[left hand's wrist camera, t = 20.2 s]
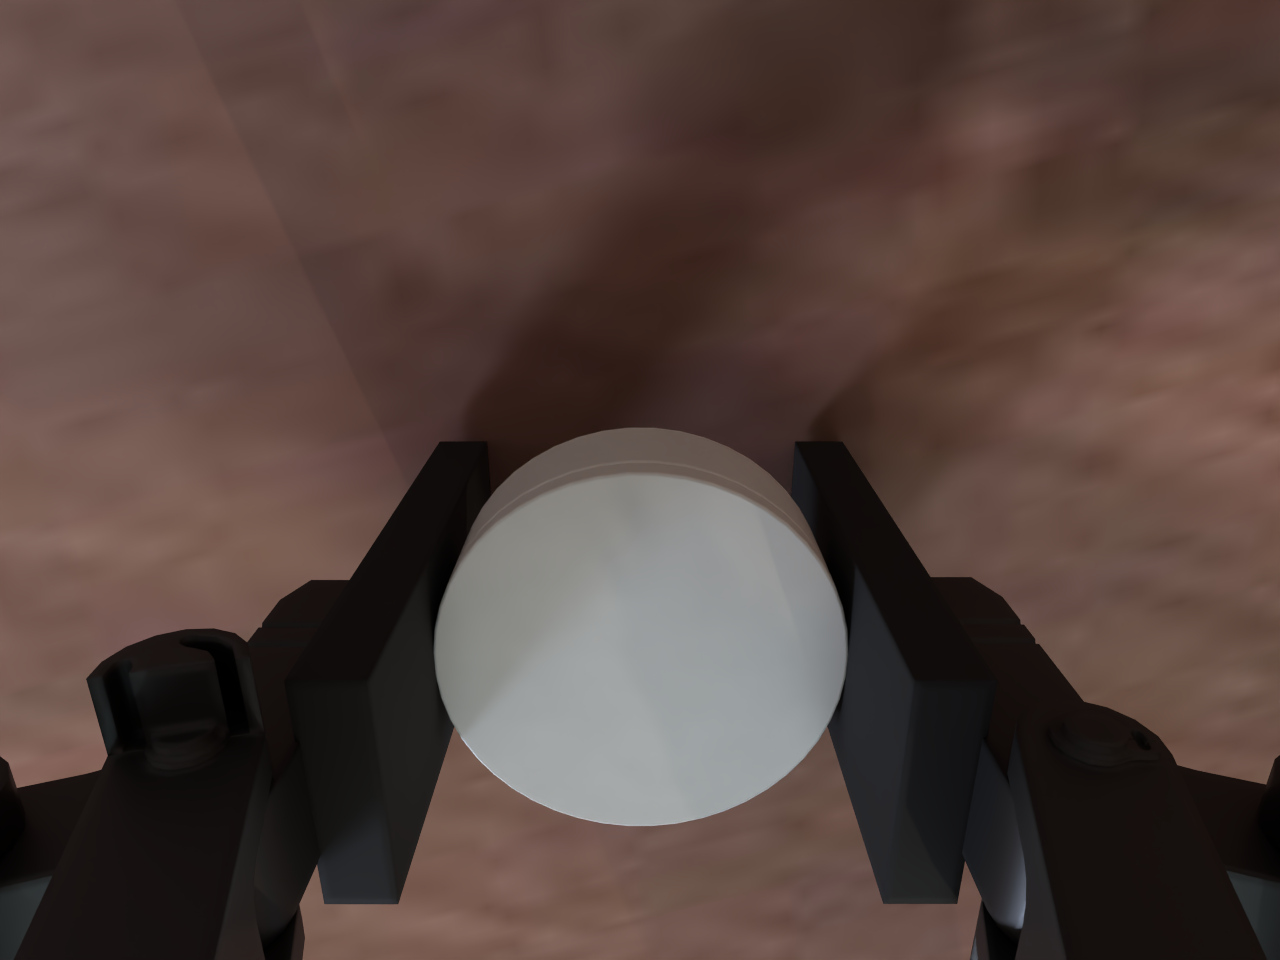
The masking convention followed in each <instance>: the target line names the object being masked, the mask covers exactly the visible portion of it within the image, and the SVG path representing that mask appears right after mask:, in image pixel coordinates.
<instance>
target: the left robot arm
mask: <svg viewBox="0 0 1280 960" xmlns="http://www.w3.org/2000/svg"><path fill="white" fill-rule="evenodd" d="M490 497H491V494H490V480H489V466H488V451H487V442H439V444H438V445H437V447H436V448H435V450H434V452H433V453H432V455H431V456H430V458H429V459H428V461H427V462H426V464H425V465H424V467H423V468H422V470H421V471H420V473H419V475H418V476H417V478H416V479H415V481H414V482H413V484H412V485H411V487H410V488H409V490H408V491H407V493H406V494H405V496H404V498H403V499H402V501H401V502H400V504H399V505H398V507H397V508H396V510H395V511H394V513H393V514H392V516H391V517H390V519H389V521H388V522H387V524H386V525H385V527H384V528H383V530H382V531H381V533H380V534H379V536H378V537H377V539H376V540H375V542H374V544H373V545H372V547H371V548H370V550H369V551H368V553H367V554H366V556H365V557H364V559H363V560H362V562H361V563H360V565H359V567H358V568H357V570H356V571H355V573H354V574H353V576H352V577H351V579H350V580H311V581H309V582H307V583H306V584H304V585H303V586H301V587H300V588H298V589H296V590H295V591H293V592H292V593H290V594H289V595H287V596H285V597H284V598H282V599H281V600H280V601H279V602H278V603H277V605H276V606H275V607H274V608H273V610H272V611H271V612H270V614H269V615H268V616H267V617H266V619H265V620H264V621H263V623H262V628H258V629H257V630H256V632H255V633H254V634H253V636H252V637H251V638H250V639H249V641H248V642H246V641H244V640H243V639H242V638H241V637H239V636H238V635H237V634H235V633H232V632H227V631H223V630H218V629H185V630H180V631H176V632H171V633H166V634H161V635H156V636H153V637H151V638H148V639H145V640H143V641H140V642H138V643H135V644H132V645H130V646H127V647H125V648H123V649H122V650H120V651H119V652H117V653H115V654H114V655H112V656H110V657H109V658H107V659H106V660H104V661H102V662H101V663H100V664H99V665H98V666H97V668H96V669H95V670H94V671H93V672H92V673H91V674H90V675H89V676H88V677H87V679H86V680H87V683H88V687H89V690H90V694H91V697H92V701H93V704H94V708H95V712H96V715H97V719H98V722H99V726H100V729H101V733H102V736H103V740H104V743H105V747H106V750H107V754H108V757H107V759H106V761H105V763H104V765H103V768H102V770H99V771H95V772H92V773H88V774H84V775H79V776H74V777H69V778H64V779H59V780H54V781H50V782H45V783H40V784H35V785H30V786H25V787H20V788H17V787H16V784H15V781H14V778H13V775H12V772H11V769H10V766H9V764H8V762H7V761H5V760H4V759H3V758H2V757H0V960H302V958H303V949H304V941H305V935H304V928H303V922H302V916H301V911H300V906H299V903H300V901H301V899H302V896H303V894H304V892H305V890H306V887H307V885H308V883H309V881H310V878H311V876H312V874H313V872H314V869H315V867H316V865H317V866H318V871H319V877H320V882H321V888H322V893H323V898H324V904H398V903H399V900H400V896H401V893H402V890H403V887H404V884H405V881H406V878H407V874H408V871H409V868H410V865H411V862H412V859H413V855H414V852H415V849H416V846H417V843H418V840H419V836H420V833H421V830H422V827H423V824H424V821H425V817H426V814H427V811H428V808H429V805H430V802H431V798H432V795H433V792H434V789H435V786H436V783H437V779H438V776H439V773H440V770H441V767H442V764H443V760H444V757H445V754H446V751H447V748H448V745H449V741H450V738H451V735H452V732H453V729H454V725H453V723H452V721H451V720H450V717H449V715H448V713H447V710H446V708H445V705H444V703H443V701H442V698H441V695H440V691H439V687H438V683H437V679H436V673H435V663H434V653H433V646H434V628H435V624H436V619H437V614H438V610H439V605H440V602H441V600H442V597H443V595H444V592H445V589H446V587H447V584H448V582H449V579H450V577H451V574H452V572H453V570H454V567H455V565H456V563H457V560H458V558H459V555H460V553H461V551H462V548H463V546H464V543H465V541H466V539H467V536H468V534H469V532H470V529H471V527H472V525H473V523H474V521H475V520H476V518H477V516H478V514H479V513H480V511H481V509H482V507H483V506H484V505H485V503H486V502H487V501H488V499H489V498H490ZM791 498H792V499H793V500H794V502H795V503H796V504H797V506H798V507H799V508H800V510H801V512H802V514H803V516H804V517H805V519H806V521H807V523H808V525H809V527H810V529H811V531H812V533H813V535H814V538H815V540H816V542H817V545H818V547H819V549H820V551H821V554H822V556H823V558H824V561H825V563H826V565H827V568H828V570H829V572H830V574H831V577H832V579H833V581H834V584H835V586H836V589H837V592H838V595H839V597H840V600H841V603H842V605H843V610H844V615H845V620H846V625H847V630H848V660H847V669H846V677H845V681H844V685H843V689H842V693H841V696H840V700H839V702H838V704H837V707H836V709H835V711H834V714H833V716H832V718H831V720H830V722H829V724H828V725H827V726H828V729H829V732H830V736H831V739H832V742H833V745H834V748H835V751H836V755H837V758H838V761H839V764H840V767H841V770H842V774H843V777H844V780H845V783H846V786H847V790H848V793H849V796H850V799H851V802H852V805H853V809H854V812H855V815H856V818H857V821H858V824H859V828H860V831H861V834H862V837H863V840H864V844H865V847H866V850H867V853H868V856H869V859H870V863H871V866H872V869H873V872H874V875H875V878H876V882H877V885H878V888H879V891H880V894H881V898H882V901H883V904H957V901H958V896H959V890H960V885H961V879H962V874H963V869H964V863H965V861H966V863H967V866H968V868H969V870H970V872H971V875H972V877H973V879H974V881H975V884H976V886H977V888H978V890H979V893H980V895H981V897H982V901H981V906H980V911H979V916H978V921H977V926H976V931H975V936H974V941H973V946H972V951H971V957H970V960H1280V756H1278V757H1277V758H1276V759H1275V761H1274V764H1273V767H1272V769H1271V772H1270V775H1269V778H1268V781H1267V784H1266V785H1265V784H1260V783H1255V782H1251V781H1246V780H1241V779H1236V778H1231V777H1226V776H1221V775H1216V774H1211V773H1207V772H1202V771H1197V770H1193V769H1189V768H1186V767H1182V766H1178V765H1177V764H1176V762H1175V760H1174V757H1173V755H1172V754H1171V752H1170V751H1169V750H1168V749H1167V747H1166V746H1165V745H1164V743H1163V742H1162V741H1161V739H1160V738H1159V737H1158V736H1157V735H1156V734H1154V733H1153V732H1151V731H1150V730H1149V729H1147V728H1146V727H1144V726H1143V725H1142V724H1140V723H1139V722H1137V721H1136V720H1134V719H1132V718H1130V717H1128V716H1125V715H1123V714H1121V713H1119V712H1116V711H1114V710H1112V709H1110V708H1107V707H1103V706H1099V705H1095V704H1091V703H1087V702H1084V701H1083V700H1082V699H1081V697H1080V696H1079V695H1078V694H1077V692H1076V691H1075V690H1074V688H1073V687H1072V686H1071V685H1070V683H1069V682H1068V681H1067V679H1066V678H1065V677H1064V676H1063V674H1062V673H1061V672H1060V670H1059V669H1058V668H1057V667H1056V665H1055V664H1054V663H1053V661H1052V660H1051V659H1050V658H1049V656H1048V655H1047V654H1046V652H1045V651H1044V650H1043V649H1042V647H1041V646H1040V645H1039V644H1035V638H1034V637H1033V636H1032V634H1031V633H1030V632H1029V631H1028V629H1027V628H1026V627H1025V625H1021V624H1020V619H1019V618H1018V616H1017V615H1016V614H1015V613H1014V611H1013V610H1012V609H1011V607H1010V606H1009V605H1008V604H1007V602H1006V601H1005V600H1004V598H1003V597H1002V596H1000V595H998V594H997V593H995V592H994V591H992V590H991V589H989V588H987V587H986V586H984V585H983V584H981V583H979V582H978V581H976V580H975V579H973V578H972V577H930V576H929V574H928V573H927V571H926V570H925V568H924V566H923V565H922V563H921V562H920V560H919V559H918V557H917V556H916V554H915V553H914V551H913V550H912V548H911V546H910V545H909V543H908V542H907V540H906V539H905V537H904V536H903V534H902V533H901V531H900V530H899V528H898V527H897V525H896V523H895V522H894V520H893V519H892V517H891V516H890V514H889V513H888V511H887V510H886V508H885V507H884V505H883V503H882V502H881V500H880V499H879V497H878V496H877V494H876V493H875V491H874V490H873V488H872V487H871V485H870V484H869V482H868V480H867V479H866V477H865V476H864V474H863V473H862V471H861V470H860V468H859V467H858V465H857V464H856V462H855V460H854V459H853V457H852V456H851V454H850V453H849V451H848V450H847V448H846V447H845V445H844V444H843V442H795V453H794V467H793V482H792V496H791Z"/></svg>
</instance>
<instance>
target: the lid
mask: <svg viewBox="0 0 1280 960" xmlns="http://www.w3.org/2000/svg"><path fill="white" fill-rule="evenodd" d="M433 653H434V663H435V673H436V679H437V683H438V687H439V691H440V695H441V698H442V701H443V703H444V705H445V708H446V710H447V713H448V715H449V717H450V720H451V721H452V723H453V725H454V726H455V728H456V730H457V731H458V733H459V735H460V736H461V738H462V740H463V741H464V742H465V744H466V745H467V746H468V747H469V749H470V750H471V751H472V752H473V754H474V755H475V756H476V757H477V758H478V759H479V760H480V761H481V762H482V763H483V764H484V765H485V766H486V767H487V768H488V769H489V770H490V771H491V772H492V773H493V774H494V775H496V776H497V777H498V778H499V779H501V780H502V781H503V782H505V783H506V784H507V785H509V786H510V787H511V788H513V789H514V790H516V791H518V792H519V793H521V794H523V795H525V796H526V797H528V798H530V799H531V800H533V801H535V802H537V803H540V804H542V805H544V806H546V807H549V808H551V809H553V810H555V811H558V812H561V813H565V814H568V815H571V816H574V817H577V818H581V819H586V820H590V821H595V822H600V823H606V824H616V825H625V826H655V825H665V824H675V823H681V822H686V821H691V820H696V819H700V818H704V817H707V816H710V815H713V814H716V813H720V812H723V811H725V810H728V809H730V808H732V807H735V806H737V805H739V804H741V803H744V802H746V801H748V800H750V799H751V798H753V797H755V796H756V795H758V794H760V793H762V792H763V791H765V790H767V789H768V788H770V787H771V786H772V785H774V784H775V783H776V782H778V781H779V780H780V779H782V778H783V777H784V776H786V775H787V774H788V773H789V772H790V771H791V770H792V769H793V768H794V767H795V766H796V765H797V764H798V763H800V762H801V761H802V760H803V759H804V758H805V756H806V755H807V754H808V753H809V751H810V750H811V749H812V748H813V746H814V745H815V744H816V743H817V741H818V740H819V739H820V737H821V735H822V734H823V732H824V730H825V729H826V727H827V725H828V724H829V722H830V720H831V718H832V716H833V714H834V711H835V709H836V707H837V704H838V702H839V700H840V696H841V693H842V689H843V685H844V681H845V677H846V669H847V660H848V630H847V625H846V620H845V615H844V610H843V605H842V603H841V600H840V597H839V595H838V592H837V589H836V586H835V584H834V581H833V579H832V577H831V574H830V572H829V570H828V568H827V565H826V563H825V561H824V558H823V556H822V554H821V551H820V549H819V547H818V545H817V542H816V540H815V538H814V535H813V533H812V531H811V529H810V527H809V525H808V523H807V521H806V519H805V517H804V516H803V514H802V512H801V510H800V508H799V507H798V506H797V504H796V503H795V502H794V500H793V499H792V498H791V496H790V495H789V494H788V492H787V491H786V490H785V489H784V488H783V487H782V486H781V485H780V484H779V483H778V482H777V481H776V480H775V479H774V478H773V477H772V476H771V475H770V474H769V473H768V472H766V471H765V470H764V469H762V468H761V467H760V466H758V465H757V464H756V463H755V462H753V461H752V460H751V459H749V458H747V457H745V456H744V455H742V454H740V453H738V452H737V451H735V450H733V449H731V448H729V447H727V446H725V445H722V444H720V443H717V442H715V441H712V440H710V439H708V438H705V437H701V436H697V435H694V434H690V433H686V432H682V431H676V430H668V429H661V428H621V429H613V430H605V431H600V432H596V433H592V434H588V435H584V436H580V437H577V438H574V439H572V440H569V441H567V442H564V443H561V444H559V445H556V446H554V447H552V448H550V449H549V450H547V451H545V452H543V453H541V454H540V455H538V456H536V457H534V458H532V459H531V460H530V461H528V462H527V463H526V464H524V465H523V466H522V467H520V468H519V469H518V470H516V471H515V472H514V473H512V474H511V475H510V476H509V477H508V478H507V479H506V480H505V481H504V482H503V483H502V484H501V485H500V486H499V487H498V488H497V489H496V490H495V492H494V493H493V494H492V496H491V497H490V498H489V499H488V501H487V502H486V503H485V505H484V506H483V507H482V509H481V511H480V513H479V514H478V516H477V518H476V520H475V521H474V523H473V525H472V527H471V529H470V532H469V534H468V536H467V539H466V541H465V543H464V546H463V548H462V551H461V553H460V555H459V558H458V560H457V563H456V565H455V567H454V570H453V572H452V574H451V577H450V579H449V582H448V584H447V587H446V589H445V592H444V595H443V597H442V600H441V602H440V605H439V610H438V614H437V619H436V624H435V628H434V646H433Z"/></svg>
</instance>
